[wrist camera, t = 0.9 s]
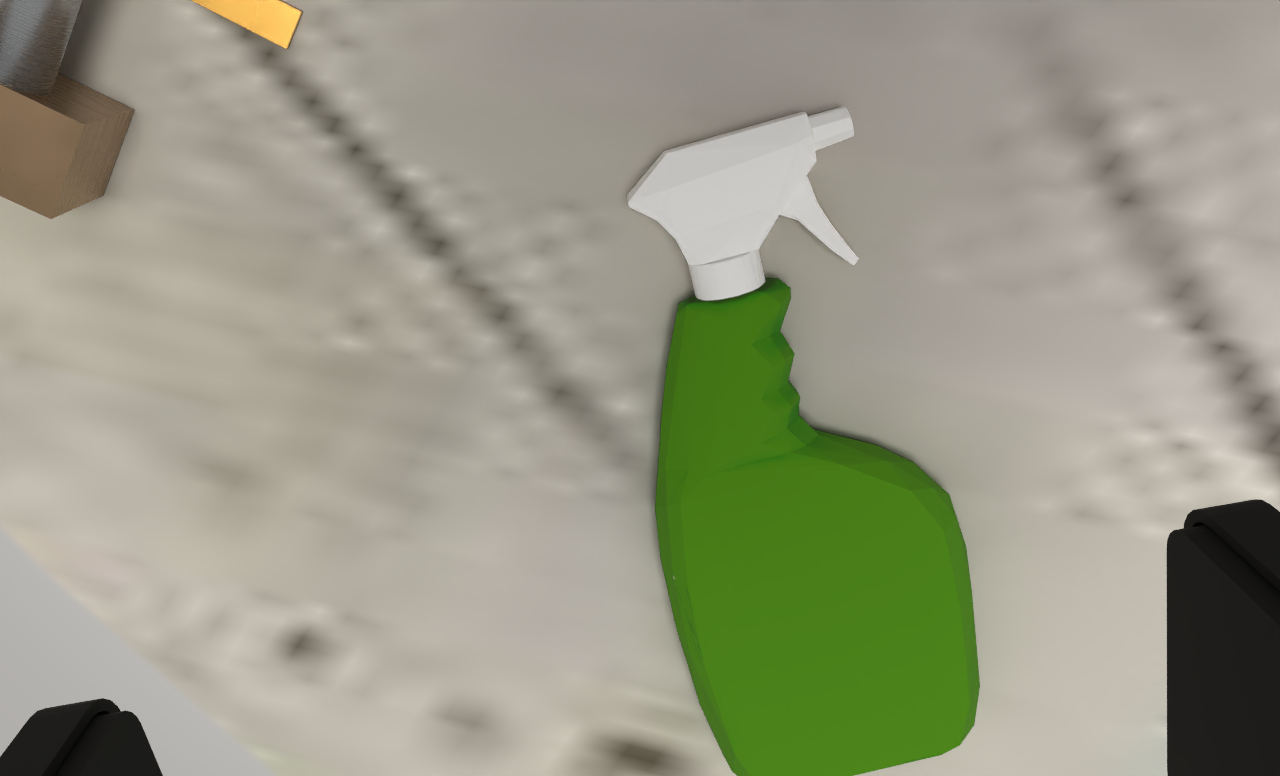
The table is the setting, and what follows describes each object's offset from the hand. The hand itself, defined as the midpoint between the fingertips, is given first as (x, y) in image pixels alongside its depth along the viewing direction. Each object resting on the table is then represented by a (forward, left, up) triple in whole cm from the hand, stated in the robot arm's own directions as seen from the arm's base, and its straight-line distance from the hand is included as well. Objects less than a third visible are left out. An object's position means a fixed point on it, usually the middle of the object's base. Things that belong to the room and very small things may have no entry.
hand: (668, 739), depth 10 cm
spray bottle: (+6, +10, -28) cm, 31 cm away
